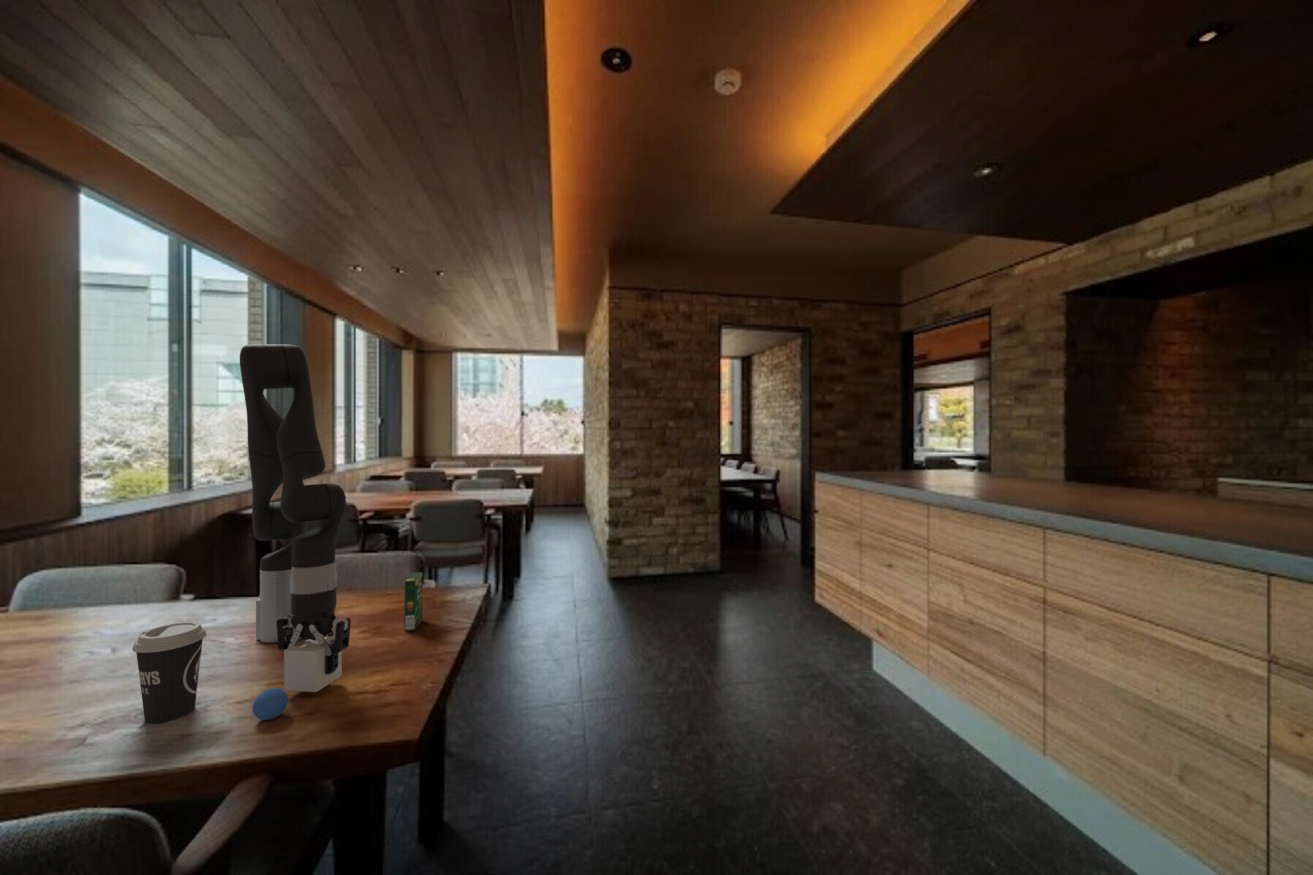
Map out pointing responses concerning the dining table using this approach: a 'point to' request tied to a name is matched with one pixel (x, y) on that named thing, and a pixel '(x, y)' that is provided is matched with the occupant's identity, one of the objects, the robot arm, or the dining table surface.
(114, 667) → the dining table surface
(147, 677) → the coffee cup
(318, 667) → the block
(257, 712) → the blue egg
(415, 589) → the coffee box
